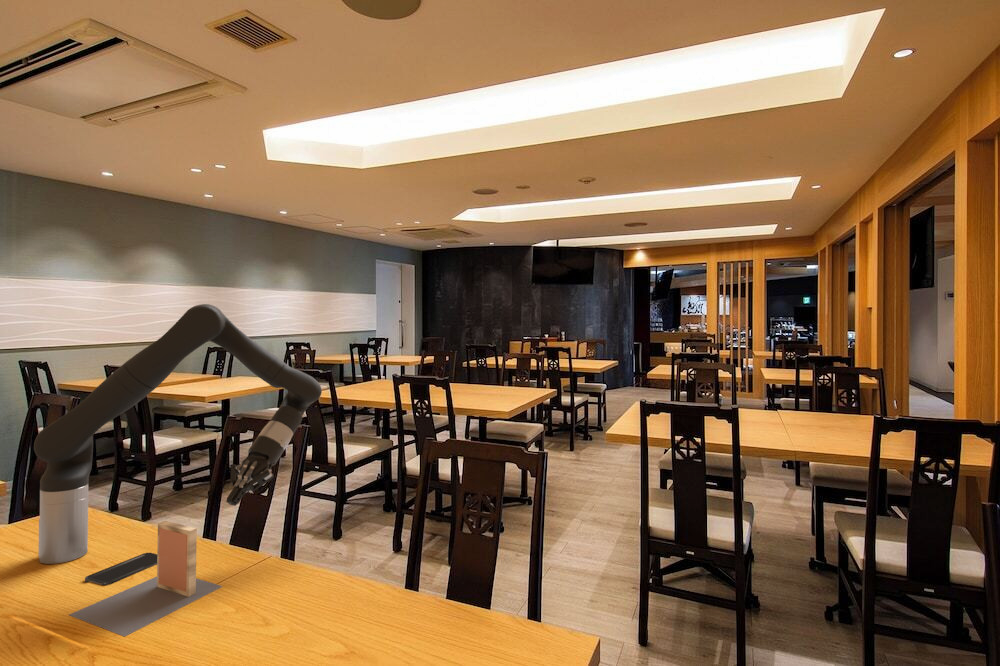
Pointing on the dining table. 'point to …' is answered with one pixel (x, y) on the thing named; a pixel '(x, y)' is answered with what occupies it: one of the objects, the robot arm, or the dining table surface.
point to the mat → (139, 606)
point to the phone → (123, 569)
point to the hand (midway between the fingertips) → (230, 503)
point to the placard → (176, 558)
